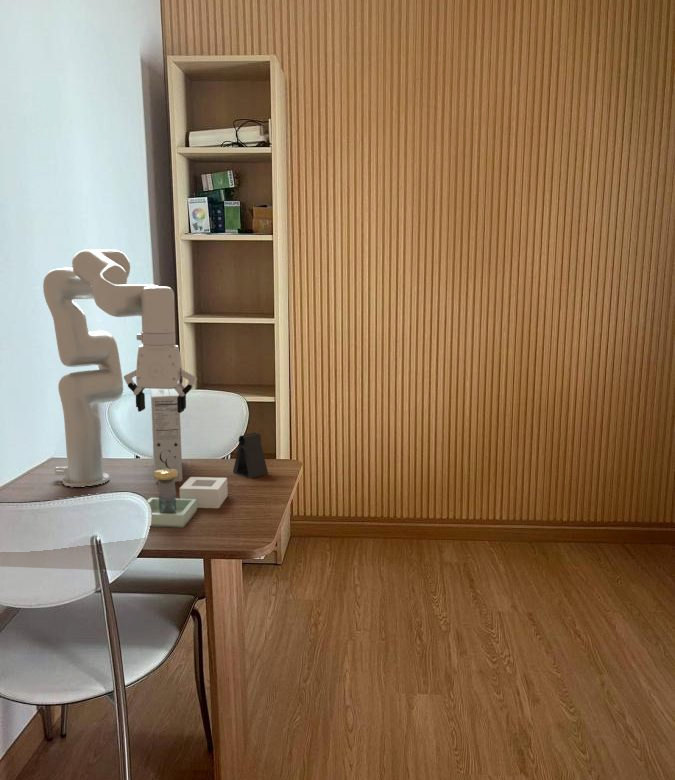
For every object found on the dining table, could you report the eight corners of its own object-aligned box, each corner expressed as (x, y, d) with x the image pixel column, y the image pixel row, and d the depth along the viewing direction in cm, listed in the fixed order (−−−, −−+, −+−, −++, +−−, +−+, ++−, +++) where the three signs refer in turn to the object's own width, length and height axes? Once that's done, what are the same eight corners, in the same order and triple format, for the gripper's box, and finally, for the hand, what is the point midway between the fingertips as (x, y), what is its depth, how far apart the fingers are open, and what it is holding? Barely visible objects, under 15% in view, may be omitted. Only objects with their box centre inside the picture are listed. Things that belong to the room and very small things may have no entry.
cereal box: (153, 463, 225) (150, 384, 221) (178, 461, 227) (175, 383, 223) (155, 483, 205) (151, 396, 200) (182, 481, 207) (179, 395, 202)
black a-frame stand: (232, 472, 215) (232, 433, 213) (248, 468, 220) (247, 430, 218) (252, 478, 209) (251, 438, 207) (268, 474, 214) (267, 435, 211)
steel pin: (153, 519, 175) (150, 475, 173) (160, 511, 180) (158, 468, 178) (175, 520, 174) (173, 475, 172) (182, 512, 180) (180, 468, 178)
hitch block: (180, 507, 185) (179, 488, 184) (191, 494, 195) (190, 476, 194) (218, 508, 184) (218, 489, 183) (227, 495, 194) (227, 477, 193)
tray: (134, 526, 172) (133, 513, 171) (150, 509, 184) (150, 497, 183) (183, 527, 171) (183, 515, 170) (197, 510, 183) (196, 499, 182)
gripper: (117, 340, 167) (120, 413, 170) (190, 342, 165) (192, 415, 168) (128, 337, 174) (131, 406, 177) (199, 338, 173) (200, 408, 176)
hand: (161, 411), depth 173 cm, fingers open, 9 cm apart
